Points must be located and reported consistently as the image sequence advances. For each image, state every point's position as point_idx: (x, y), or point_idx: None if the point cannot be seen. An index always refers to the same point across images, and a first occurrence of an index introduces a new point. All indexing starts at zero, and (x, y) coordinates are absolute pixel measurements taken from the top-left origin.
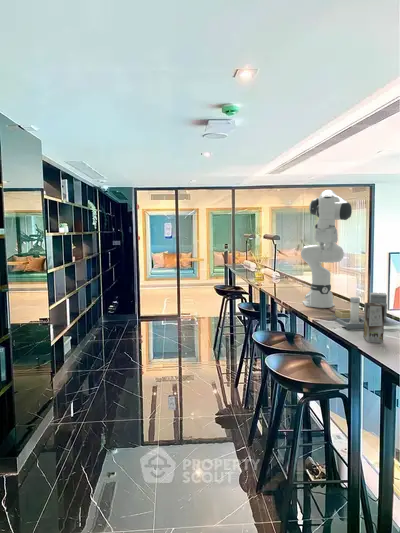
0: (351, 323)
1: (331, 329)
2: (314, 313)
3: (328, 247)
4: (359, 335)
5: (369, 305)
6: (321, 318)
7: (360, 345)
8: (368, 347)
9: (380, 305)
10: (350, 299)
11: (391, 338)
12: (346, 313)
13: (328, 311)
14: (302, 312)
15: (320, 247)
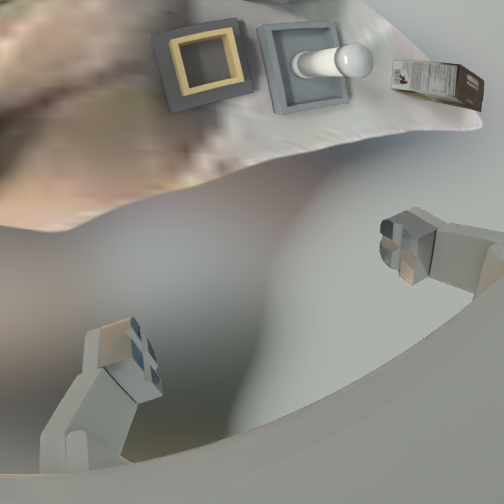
0: (342, 87)
1: (332, 141)
2: (99, 168)
3: (435, 278)
4: (379, 91)
5: (478, 109)
6: (187, 146)
7: (430, 122)
8: (437, 113)
9: (481, 86)
10: (353, 77)
11: (395, 34)
12: (240, 65)
13: (49, 114)
14: (92, 212)
15: (127, 401)
